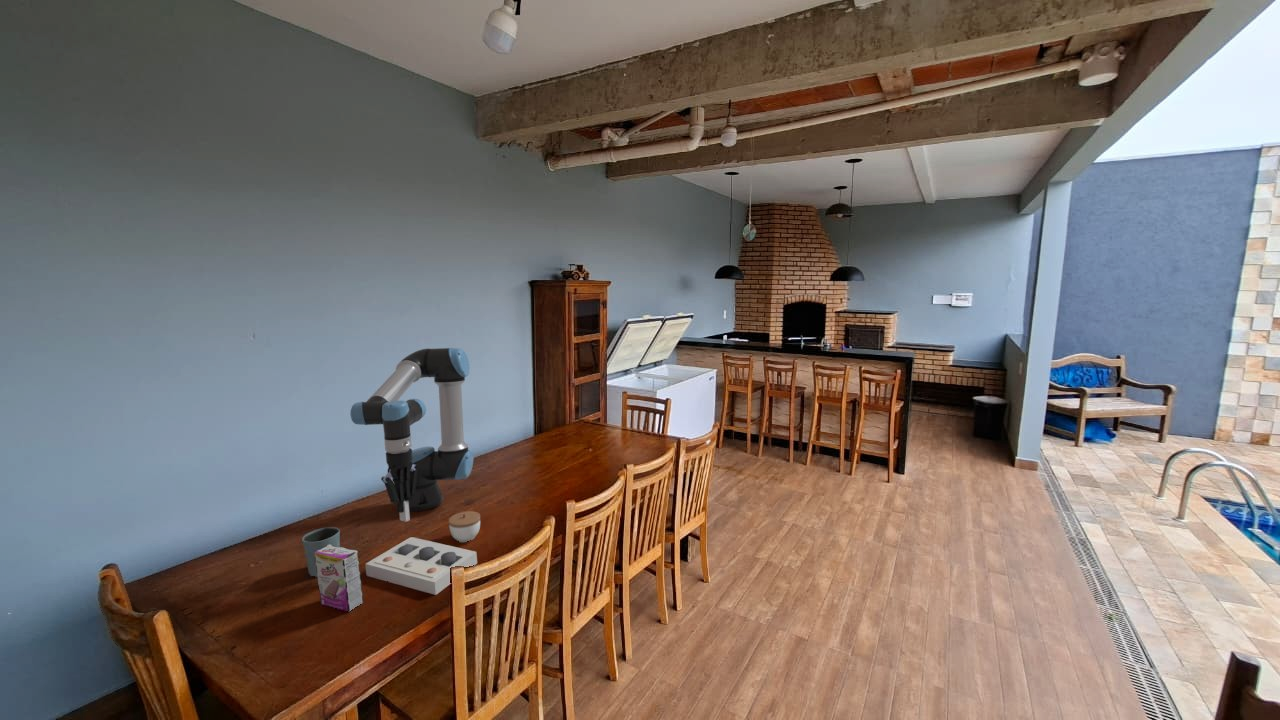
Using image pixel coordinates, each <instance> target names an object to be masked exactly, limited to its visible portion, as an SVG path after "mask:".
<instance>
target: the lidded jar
mask: <svg viewBox="0 0 1280 720" xmlns="http://www.w3.org/2000/svg"><path fill="white" fill-rule="evenodd" d="M448 526H449V531H450V532H449V533H450V535H451V536H452V538H453V539H455V540H456V541H457V542H458V541H459V543H468V542H467V541H469V542H471V541H473V540H474V539H475V538H476V536H477V535H478V534H479V532H480V528H481V514H480V513H479V512H477V511H474V510H473V511H472V510H471V511H468V510H467V511H460V512H457V513H455V514H453V515H451V516H450V518H448ZM470 540H471V541H470Z"/></svg>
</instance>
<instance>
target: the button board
mask: <svg viewBox="0 0 1280 720" xmlns="http://www.w3.org/2000/svg"><path fill="white" fill-rule="evenodd" d="M405 545H412V546H413V551H412V552H411V553H409V554H407V555H406V556H404V555H400V554H399V553H398V549H399V548H400V547H402V546H405ZM425 547H433V548H434V557H432V558H431V559H429V560H428V561H424V560H420V558H419V550H420V549H422V548H425ZM447 552H455V553H456V562H455V563H454V564H452V565H451V566H450V567H448V566H444V565H441V555H442V554H444V553H447ZM477 555H478V554H477V551H475V550H469V549H465V548H461V547H457V546H453V545H447V544H443V543H439V542H435V541H430V540H427V539H421V538H418V537H413V536H411V537H409V538H407V539H405V540H403V541H402V542H400V543H399V544H396V545H394V546H393V547H392V548H390V549H389V550H386V551H384V552H383V553H382V554H380V555H378V556H376V557H374V558H373V559H370V561H368V562H366V563H365V574H366V575H365V576H367V577H370V578H374V579H377V580H381V581H385V582H387V581H388V582H387V583H392V584H395V585H399V586H403V587H406V588H410V589H413V590H416V591H420V592H423V593H428V594H431V595H434V596H436V595H438V594H439V593H440V592H442V591H443V590H445V589H446V588H447V587H448V586H449V585H451V584H452V583H450V568H451V567H455V566H464V567H469V566H473V565H474V566H476V565H477V564H478V556H477ZM474 566H473V567H474Z"/></svg>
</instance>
